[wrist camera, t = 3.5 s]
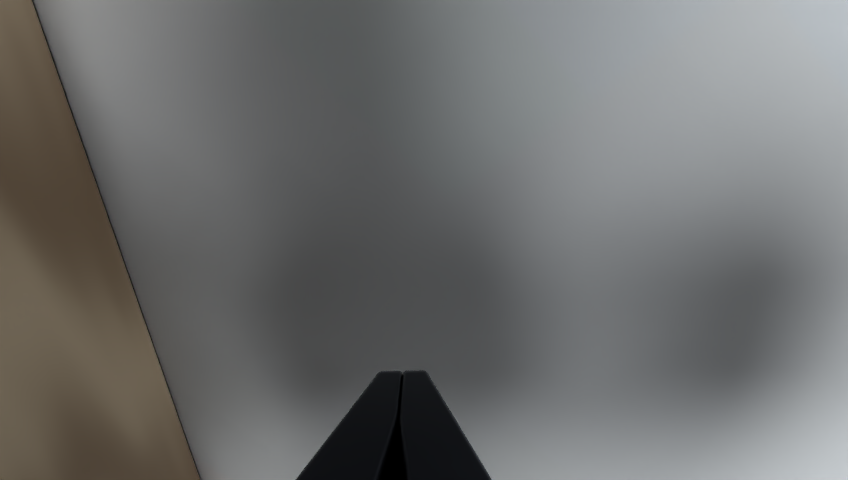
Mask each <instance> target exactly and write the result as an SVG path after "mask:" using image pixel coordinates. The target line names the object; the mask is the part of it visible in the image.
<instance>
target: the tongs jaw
mask: <svg viewBox="0 0 848 480" xmlns="http://www.w3.org/2000/svg"><path fill="white" fill-rule="evenodd" d="M0 480H200V478H199V475H198V472H197V469H196V467H195V464H194V461H193V458H192V455H191V452H190V449H189V447H188V444H187V441H186V438H185V435H184V432H183V430H182V427H181V424H180V421H179V418H178V415H177V412H176V410H175V407H174V404H173V401H172V398H171V395H170V393H169V390H168V387H167V384H166V381H165V378H164V375H163V373H162V370H161V367H160V364H159V361H158V358H157V356H156V353H155V350H154V347H153V344H152V341H151V338H150V336H149V333H148V330H147V327H146V324H145V321H144V319H143V316H142V313H141V310H140V307H139V304H138V301H137V299H136V296H135V293H134V290H133V287H132V284H131V282H130V279H129V276H128V273H127V270H126V267H125V264H124V262H123V259H122V256H121V253H120V250H119V247H118V245H117V242H116V239H115V236H114V233H113V230H112V227H111V225H110V222H109V219H108V216H107V213H106V210H105V207H104V205H103V202H102V199H101V196H100V193H99V190H98V188H97V185H96V182H95V179H94V176H93V173H92V170H91V168H90V165H89V162H88V159H87V156H86V153H85V151H84V148H83V145H82V142H81V139H80V136H79V133H78V131H77V128H76V125H75V122H74V119H73V116H72V114H71V111H70V108H69V105H68V102H67V99H66V96H65V94H64V91H63V88H62V85H61V82H60V79H59V77H58V74H57V71H56V68H55V65H54V62H53V59H52V57H51V54H50V51H49V48H48V45H47V42H46V40H45V37H44V34H43V31H42V28H41V25H40V22H39V20H38V17H37V14H36V11H35V8H34V5H33V3H32V0H0Z"/></svg>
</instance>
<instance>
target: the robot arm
mask: <svg viewBox="0 0 848 480" xmlns="http://www.w3.org/2000/svg"><path fill="white" fill-rule="evenodd" d="M296 480H492V479H491V478H490V476H489V474H488V473H487V471H486V469H485V468H484V466H483V464H482V463H481V461H480V459H479V458H478V456H477V454H476V453H475V451H474V449H473V448H472V446H471V444H470V443H469V441H468V439H467V438H466V436H465V434H464V433H463V431H462V430H461V428H460V426H459V425H458V423H457V421H456V420H455V418H454V416H453V415H452V413H451V411H450V410H449V408H448V406H447V405H446V403H445V401H444V400H443V398H442V396H441V395H440V393H439V391H438V390H437V388H436V386H435V385H434V383H433V381H432V380H431V378H430V376H429V375H428V373H427V372H426V371H424V370H412V371H405V372H404V373H403V374H402V372H401V371H381V372H379V373H378V374H377V375H376V377H375V378H374V379H373V381H372V382H371V383H370V384H369V386H368V387H367V388H366V390H365V391H364V392H363V394H362V395H361V396H360V397H359V399H358V400H357V401H356V403H355V404H354V405H353V406H352V408H351V409H350V410H349V412H348V413H347V414H346V415H345V417H344V418H343V419H342V421H341V422H340V423H339V425H338V426H337V427H336V428H335V430H334V431H333V432H332V434H331V435H330V436H329V437H328V439H327V440H326V441H325V443H324V444H323V445H322V446H321V448H320V449H319V450H318V452H317V453H316V454H315V456H314V457H313V458H312V459H311V461H310V462H309V463H308V465H307V466H306V467H305V468H304V470H303V471H302V472H301V474H300V475H299V476H298V477H297V479H296Z"/></svg>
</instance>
